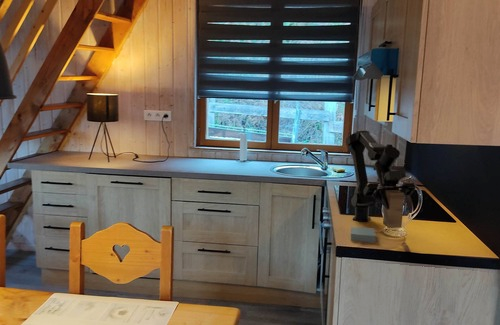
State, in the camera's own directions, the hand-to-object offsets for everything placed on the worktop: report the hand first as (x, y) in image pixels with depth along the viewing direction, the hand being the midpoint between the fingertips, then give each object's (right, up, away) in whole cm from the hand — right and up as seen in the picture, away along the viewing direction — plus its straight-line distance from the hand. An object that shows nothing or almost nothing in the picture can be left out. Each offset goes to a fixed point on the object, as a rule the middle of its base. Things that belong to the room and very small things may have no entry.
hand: (395, 208), depth 165 cm
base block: (-10, -12, +8) cm, 18 cm away
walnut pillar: (0, -7, +3) cm, 7 cm away
